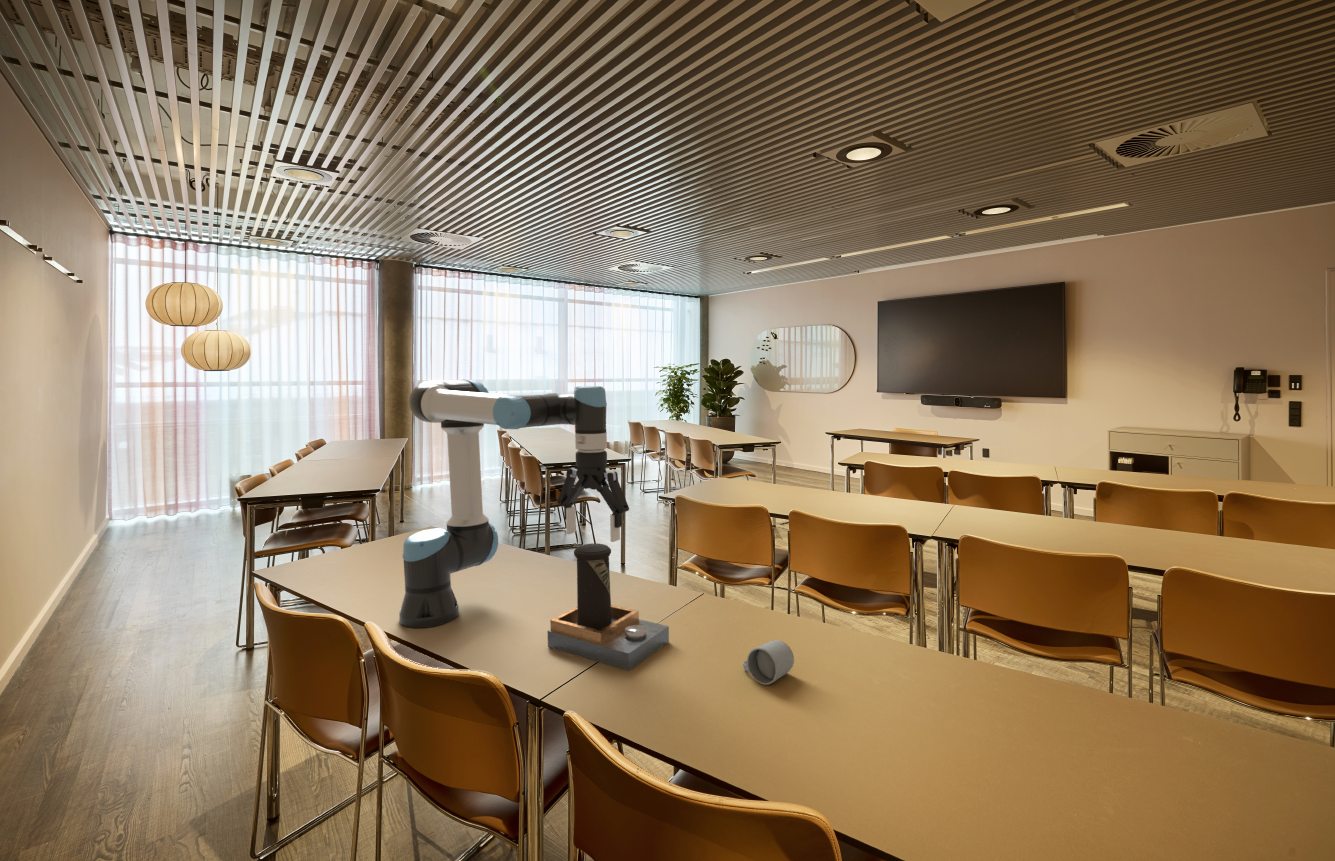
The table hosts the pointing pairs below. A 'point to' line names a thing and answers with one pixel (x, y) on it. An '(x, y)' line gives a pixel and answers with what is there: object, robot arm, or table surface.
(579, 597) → the container
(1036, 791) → the table surface
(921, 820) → the table surface
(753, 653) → the ceramic mug
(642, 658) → the framed panel with knob
